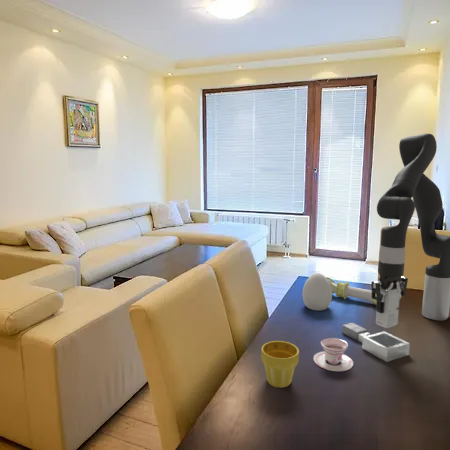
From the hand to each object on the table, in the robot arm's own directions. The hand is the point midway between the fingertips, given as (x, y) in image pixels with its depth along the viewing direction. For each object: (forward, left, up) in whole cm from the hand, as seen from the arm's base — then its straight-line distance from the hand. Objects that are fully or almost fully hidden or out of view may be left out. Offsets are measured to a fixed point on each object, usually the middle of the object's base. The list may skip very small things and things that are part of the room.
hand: (387, 310), depth 124 cm
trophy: (-25, -43, -15) cm, 52 cm away
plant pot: (+41, -1, -14) cm, 43 cm away
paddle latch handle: (0, -6, -14) cm, 15 cm away
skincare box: (0, 0, -5) cm, 5 cm away
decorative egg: (-6, -41, -14) cm, 44 cm away
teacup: (+20, -3, -15) cm, 25 cm away
